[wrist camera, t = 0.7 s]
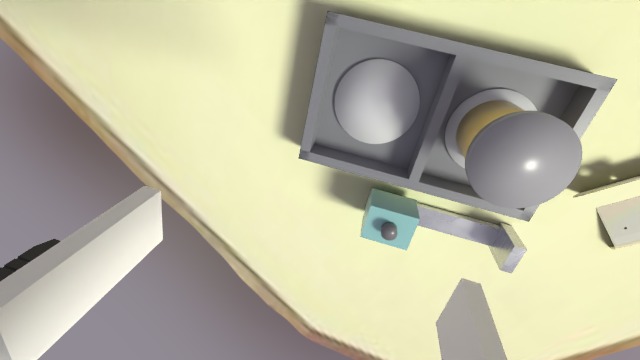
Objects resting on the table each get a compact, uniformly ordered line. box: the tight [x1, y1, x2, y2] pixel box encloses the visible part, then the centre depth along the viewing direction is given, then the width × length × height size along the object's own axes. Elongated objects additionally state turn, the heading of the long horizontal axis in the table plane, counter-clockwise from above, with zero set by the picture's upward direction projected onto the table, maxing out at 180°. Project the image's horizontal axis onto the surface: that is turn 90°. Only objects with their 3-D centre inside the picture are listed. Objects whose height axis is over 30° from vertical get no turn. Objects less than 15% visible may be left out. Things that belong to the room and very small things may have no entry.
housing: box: [299, 11, 617, 222], centre depth 31 cm, size 14×24×3 cm, turn 78°
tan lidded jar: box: [456, 100, 582, 208], centre depth 27 cm, size 8×8×8 cm
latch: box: [360, 188, 420, 250], centre depth 34 cm, size 4×5×5 cm
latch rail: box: [365, 190, 527, 273], centre depth 35 cm, size 3×16×4 cm, turn 78°
